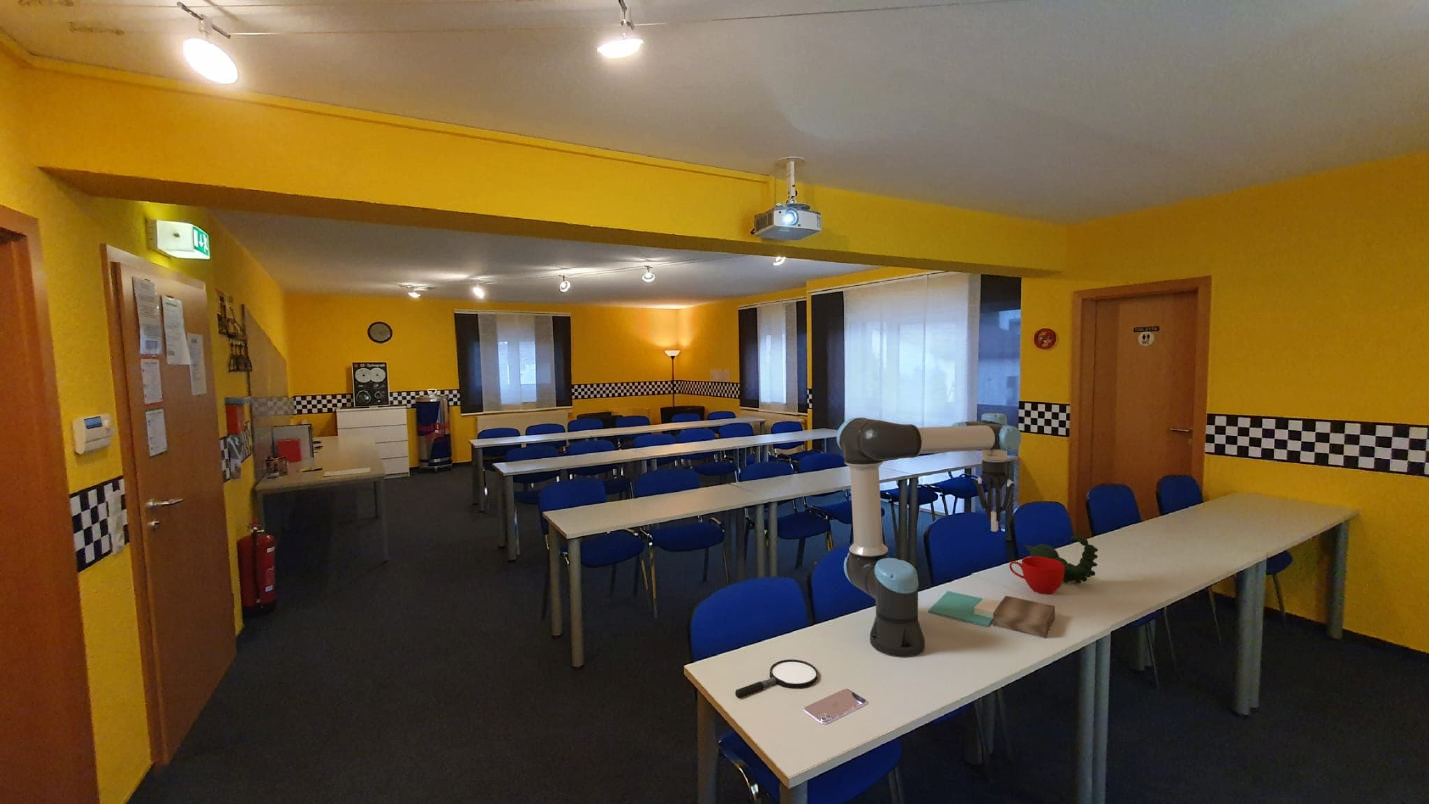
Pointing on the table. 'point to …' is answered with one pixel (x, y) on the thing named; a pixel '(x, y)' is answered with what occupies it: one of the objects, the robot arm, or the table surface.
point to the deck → (1024, 616)
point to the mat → (959, 608)
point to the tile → (986, 608)
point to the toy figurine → (1070, 570)
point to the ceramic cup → (1041, 573)
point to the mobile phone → (834, 706)
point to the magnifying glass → (784, 677)
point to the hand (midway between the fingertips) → (994, 530)
